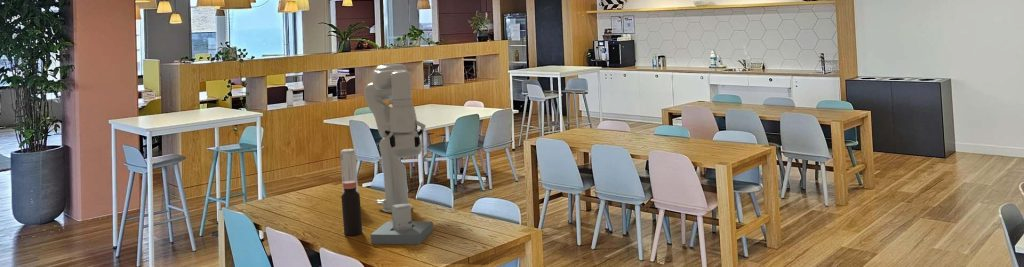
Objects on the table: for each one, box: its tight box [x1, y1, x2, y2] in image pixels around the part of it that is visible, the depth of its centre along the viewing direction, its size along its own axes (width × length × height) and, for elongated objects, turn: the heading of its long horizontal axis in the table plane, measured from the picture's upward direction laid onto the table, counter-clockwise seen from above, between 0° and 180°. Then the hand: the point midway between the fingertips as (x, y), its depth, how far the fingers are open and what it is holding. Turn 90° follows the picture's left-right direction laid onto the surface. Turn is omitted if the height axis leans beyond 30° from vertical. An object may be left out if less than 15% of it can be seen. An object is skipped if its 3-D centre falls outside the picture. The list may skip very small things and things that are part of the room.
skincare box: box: [391, 203, 412, 231], centre depth 284 cm, size 6×4×12 cm
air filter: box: [339, 148, 359, 194], centre depth 336 cm, size 6×6×25 cm
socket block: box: [370, 220, 434, 245], centre depth 284 cm, size 18×18×4 cm
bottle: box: [340, 181, 363, 237], centre depth 291 cm, size 7×7×20 cm
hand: (405, 146), depth 301 cm, fingers open, 9 cm apart
